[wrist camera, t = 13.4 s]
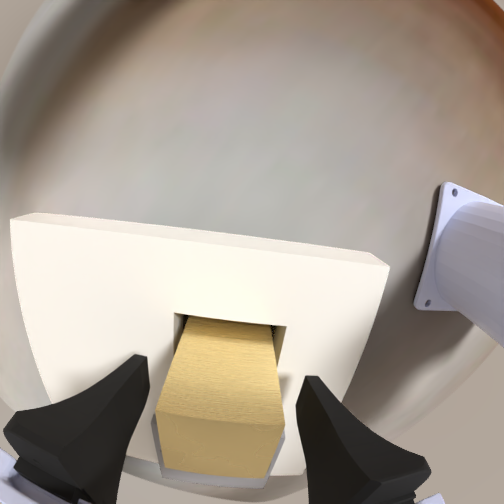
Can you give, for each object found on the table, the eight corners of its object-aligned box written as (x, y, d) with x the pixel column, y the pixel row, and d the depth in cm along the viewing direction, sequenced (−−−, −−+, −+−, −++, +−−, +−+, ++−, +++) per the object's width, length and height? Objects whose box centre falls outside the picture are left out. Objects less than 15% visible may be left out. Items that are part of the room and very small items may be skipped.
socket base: (369, 252, 14) (390, 266, 12) (297, 452, 19) (301, 474, 16) (35, 212, 13) (10, 219, 11) (76, 415, 18) (66, 432, 15)
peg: (267, 310, 15) (285, 424, 7) (257, 366, 16) (263, 478, 8) (194, 301, 15) (155, 409, 7) (192, 358, 16) (164, 467, 8)
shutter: (284, 428, 14) (289, 463, 12) (262, 481, 16) (264, 507, 14) (153, 413, 14) (142, 447, 11) (164, 470, 16) (158, 496, 13)
